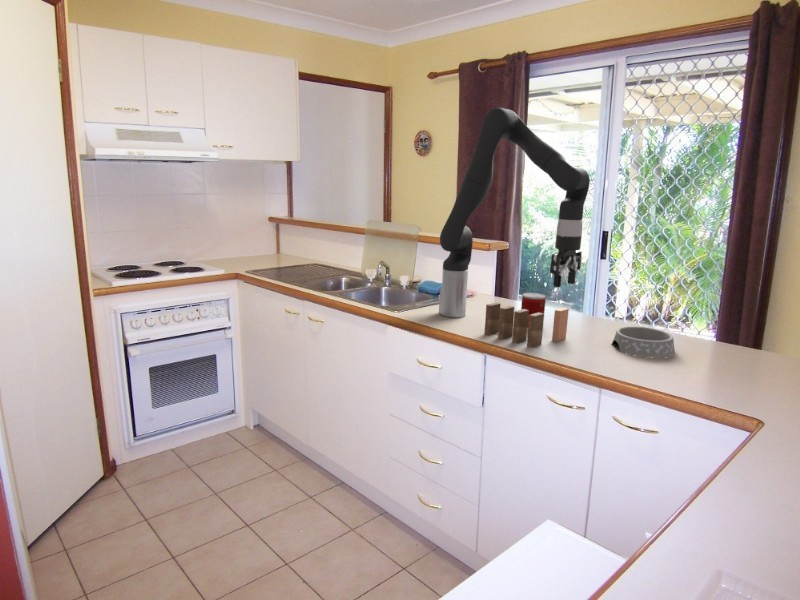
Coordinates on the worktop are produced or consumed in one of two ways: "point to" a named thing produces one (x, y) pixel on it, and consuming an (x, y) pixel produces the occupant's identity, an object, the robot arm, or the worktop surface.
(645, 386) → the worktop surface
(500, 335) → the domino
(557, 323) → the domino
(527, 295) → the canned food
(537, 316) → the domino
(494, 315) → the domino
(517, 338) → the domino
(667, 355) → the dog bowl
